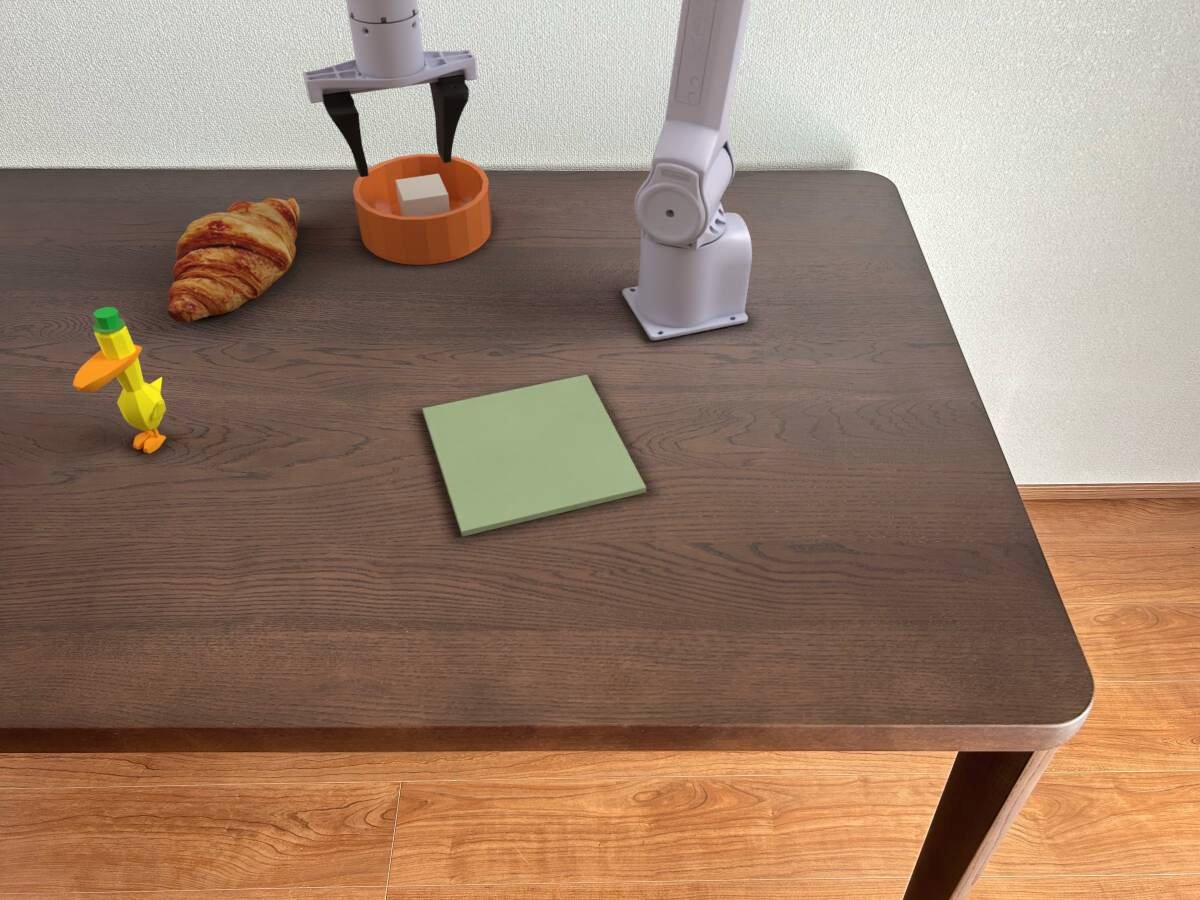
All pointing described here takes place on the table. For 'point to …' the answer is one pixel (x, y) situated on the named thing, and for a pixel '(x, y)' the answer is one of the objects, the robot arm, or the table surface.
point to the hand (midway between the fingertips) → (404, 164)
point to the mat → (529, 454)
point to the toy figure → (124, 378)
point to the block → (422, 196)
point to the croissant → (232, 257)
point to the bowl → (423, 234)
